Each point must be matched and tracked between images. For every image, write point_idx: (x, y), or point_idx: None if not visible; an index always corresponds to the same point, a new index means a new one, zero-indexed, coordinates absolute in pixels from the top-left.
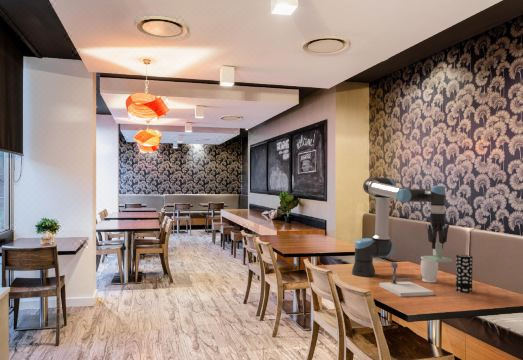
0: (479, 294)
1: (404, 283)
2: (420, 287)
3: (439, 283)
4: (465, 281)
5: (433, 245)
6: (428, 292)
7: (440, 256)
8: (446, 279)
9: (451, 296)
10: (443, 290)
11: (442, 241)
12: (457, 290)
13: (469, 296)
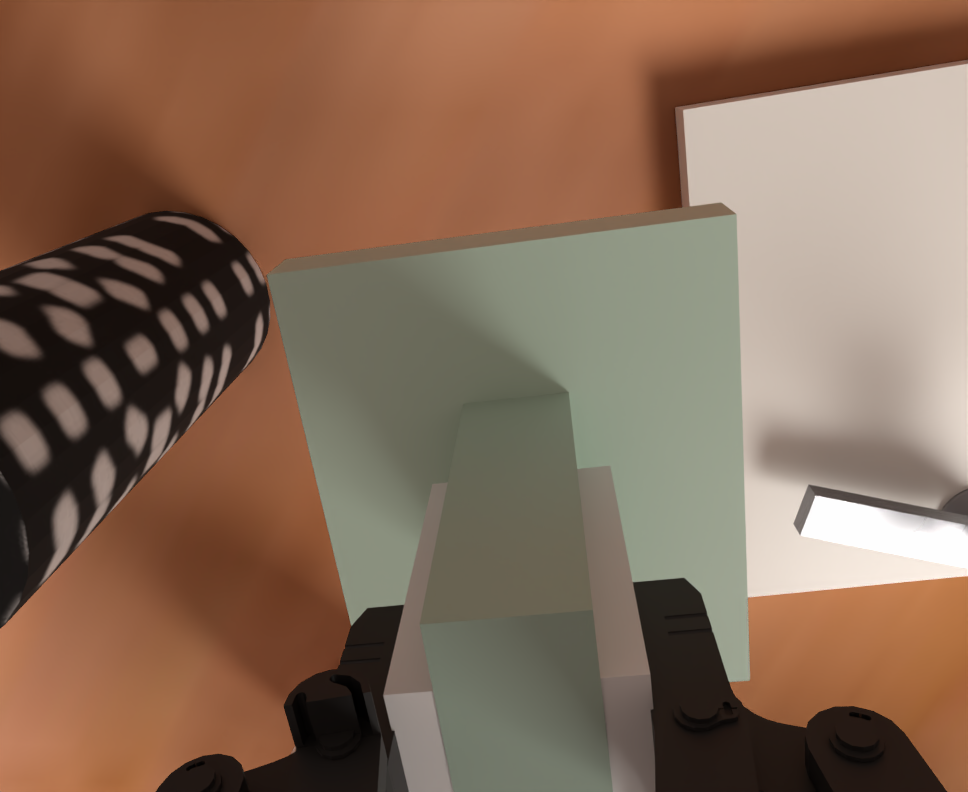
0: (49, 147)
1: None
2: (744, 326)
3: (317, 631)
4: (138, 245)
5: (718, 650)
6: (763, 96)
7: (507, 414)
8: (164, 773)
9: (463, 44)
10: None
11: (345, 766)
12: (264, 294)
13: (220, 45)
